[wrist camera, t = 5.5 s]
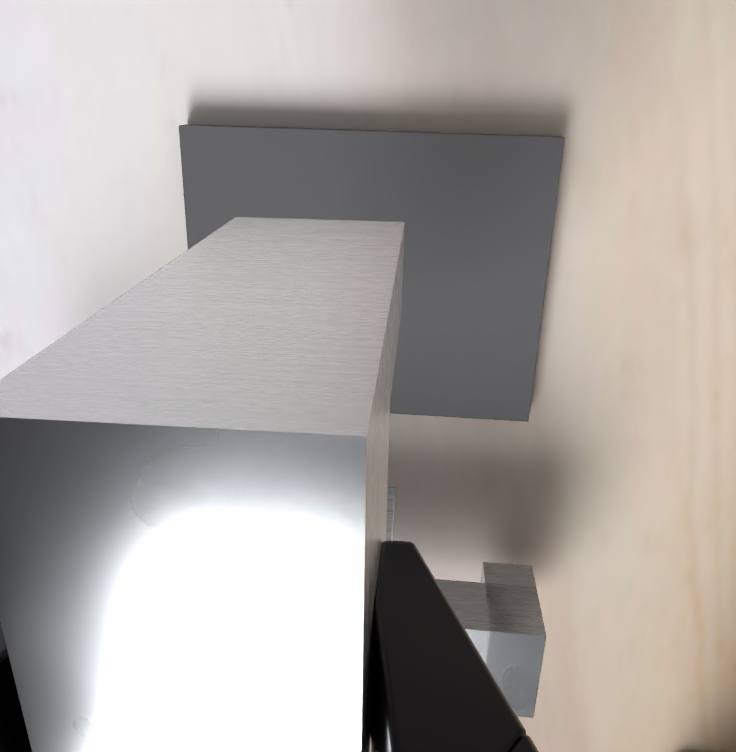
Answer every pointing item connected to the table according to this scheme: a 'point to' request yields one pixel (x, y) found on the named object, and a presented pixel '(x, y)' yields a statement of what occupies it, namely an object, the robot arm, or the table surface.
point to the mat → (411, 239)
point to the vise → (504, 628)
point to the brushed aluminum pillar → (207, 499)
